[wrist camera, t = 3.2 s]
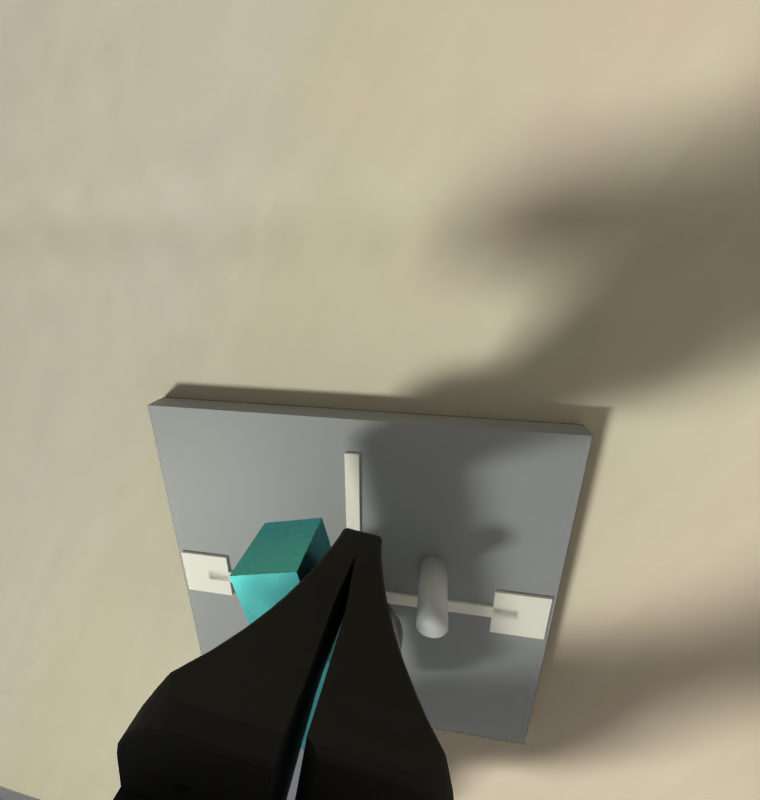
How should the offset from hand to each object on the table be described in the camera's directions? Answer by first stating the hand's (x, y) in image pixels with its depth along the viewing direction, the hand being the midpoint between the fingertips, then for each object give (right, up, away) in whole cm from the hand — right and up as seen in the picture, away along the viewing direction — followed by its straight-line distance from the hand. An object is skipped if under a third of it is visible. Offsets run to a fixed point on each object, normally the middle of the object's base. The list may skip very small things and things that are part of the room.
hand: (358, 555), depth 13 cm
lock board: (0, -4, +7) cm, 7 cm away
